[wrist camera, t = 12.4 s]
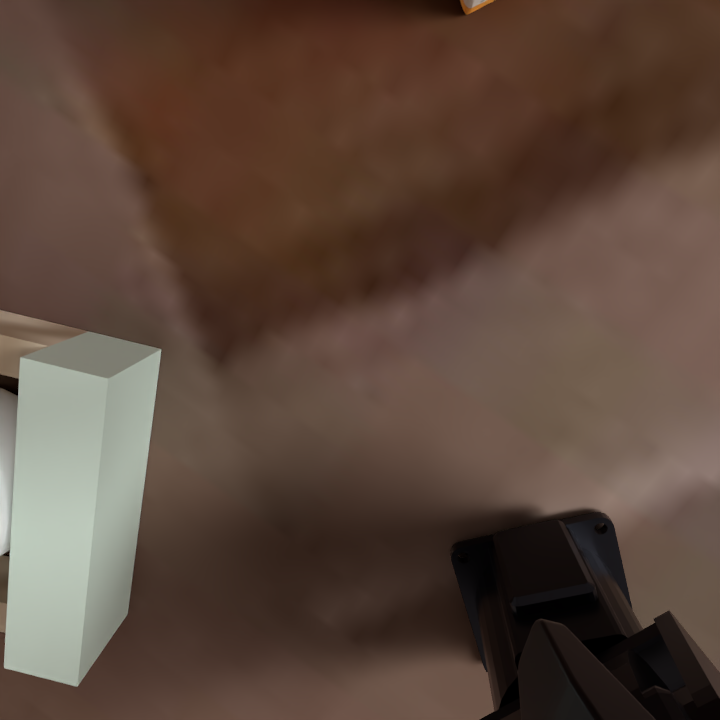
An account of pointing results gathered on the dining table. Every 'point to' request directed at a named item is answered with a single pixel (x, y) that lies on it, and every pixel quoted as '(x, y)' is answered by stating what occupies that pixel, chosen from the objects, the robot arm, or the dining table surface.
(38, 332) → the rails
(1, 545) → the water bottle
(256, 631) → the dining table surface
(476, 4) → the supplement box
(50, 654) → the block
